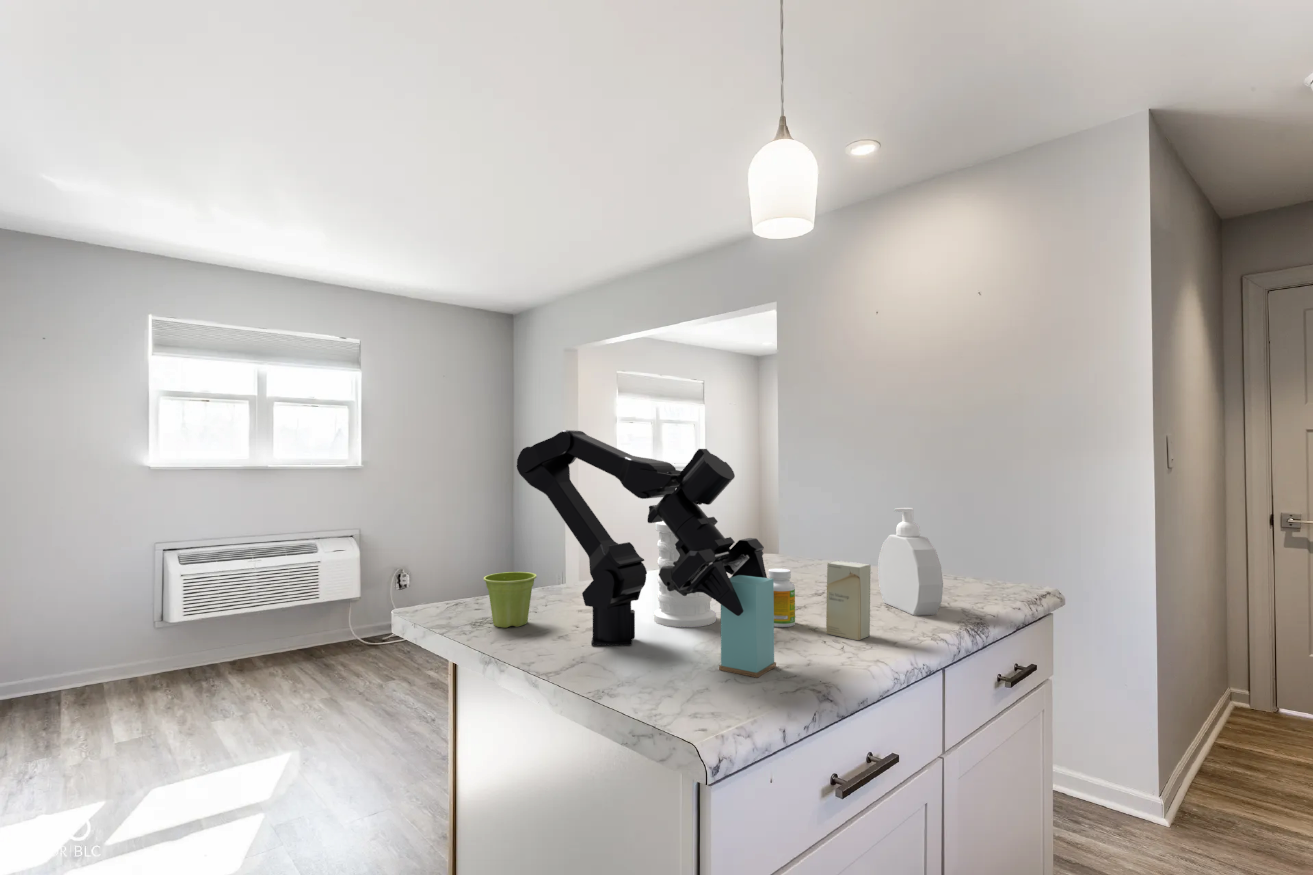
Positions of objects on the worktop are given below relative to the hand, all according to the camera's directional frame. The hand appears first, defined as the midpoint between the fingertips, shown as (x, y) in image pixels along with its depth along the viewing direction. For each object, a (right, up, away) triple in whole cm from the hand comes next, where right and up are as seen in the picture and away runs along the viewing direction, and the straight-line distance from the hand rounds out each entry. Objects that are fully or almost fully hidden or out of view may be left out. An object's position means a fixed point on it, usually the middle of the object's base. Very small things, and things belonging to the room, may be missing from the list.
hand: (756, 607), depth 95 cm
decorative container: (-9, -10, +29) cm, 32 cm away
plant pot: (-41, -10, +26) cm, 50 cm away
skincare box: (+18, -10, +18) cm, 27 cm away
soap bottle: (+36, -10, +38) cm, 53 cm away
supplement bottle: (+8, -10, +26) cm, 29 cm away
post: (-1, -9, +1) cm, 9 cm away
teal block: (-1, -8, 0) cm, 8 cm away
